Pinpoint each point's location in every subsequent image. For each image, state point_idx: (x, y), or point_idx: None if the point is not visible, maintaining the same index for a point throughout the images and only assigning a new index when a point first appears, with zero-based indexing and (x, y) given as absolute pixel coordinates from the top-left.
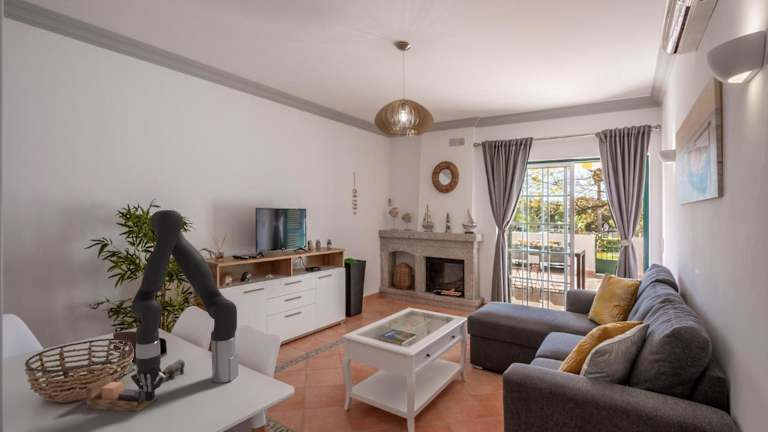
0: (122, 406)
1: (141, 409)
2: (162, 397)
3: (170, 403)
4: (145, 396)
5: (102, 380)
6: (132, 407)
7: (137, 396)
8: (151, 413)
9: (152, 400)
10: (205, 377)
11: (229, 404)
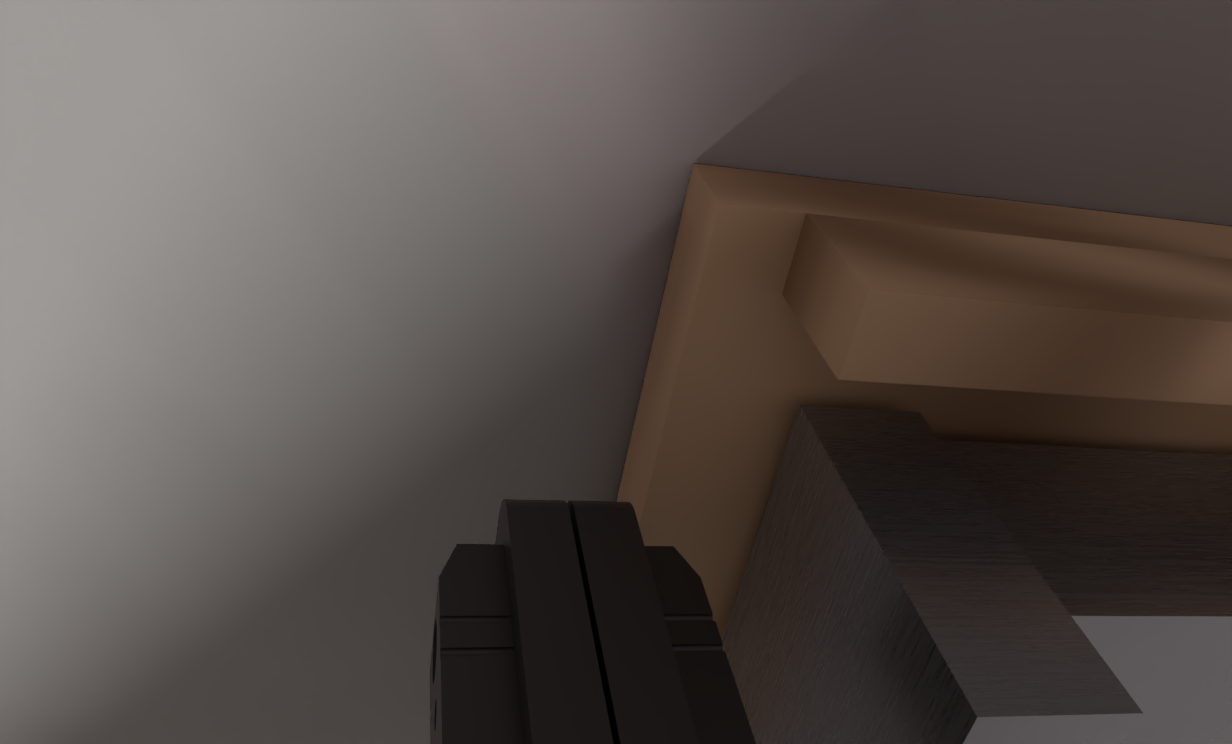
0: (1215, 266)
1: (670, 278)
2: None
3: (47, 564)
4: (694, 617)
5: None
6: (918, 234)
7: (941, 568)
8: (219, 76)
9: None
10: None
11: None
